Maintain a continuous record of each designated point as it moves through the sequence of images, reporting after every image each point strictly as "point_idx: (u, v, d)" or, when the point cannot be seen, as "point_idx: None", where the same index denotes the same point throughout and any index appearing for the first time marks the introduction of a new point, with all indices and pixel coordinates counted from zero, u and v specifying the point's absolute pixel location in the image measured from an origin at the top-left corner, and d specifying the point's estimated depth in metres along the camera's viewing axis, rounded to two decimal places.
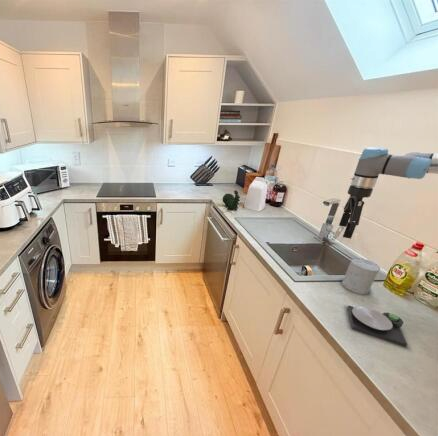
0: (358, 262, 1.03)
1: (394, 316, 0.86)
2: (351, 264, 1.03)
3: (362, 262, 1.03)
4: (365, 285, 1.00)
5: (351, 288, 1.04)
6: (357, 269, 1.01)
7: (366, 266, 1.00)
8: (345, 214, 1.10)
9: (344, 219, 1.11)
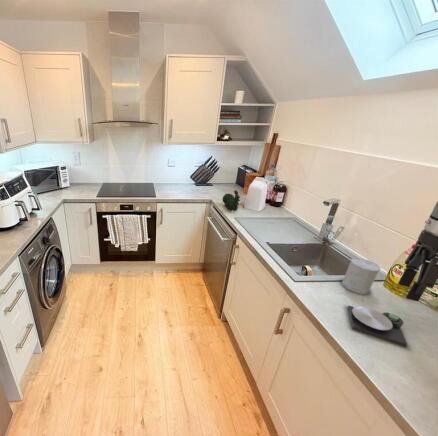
0: (358, 262, 1.03)
1: (394, 316, 0.86)
2: (351, 264, 1.03)
3: (362, 262, 1.03)
4: (365, 285, 1.00)
5: (351, 288, 1.04)
6: (357, 269, 1.01)
7: (366, 266, 1.00)
8: (409, 271, 0.82)
9: (407, 277, 0.83)
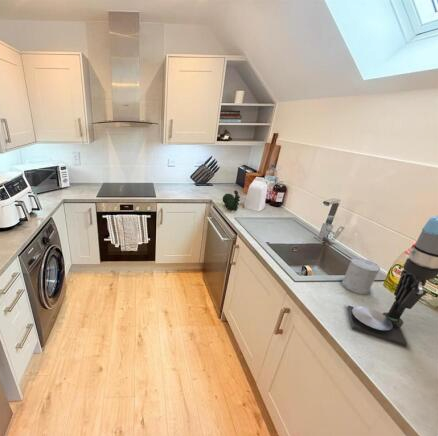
0: (358, 262, 1.03)
1: None
2: (351, 264, 1.03)
3: (362, 262, 1.03)
4: (365, 285, 1.00)
5: (351, 288, 1.04)
6: (357, 269, 1.01)
7: (366, 266, 1.00)
8: None
9: None
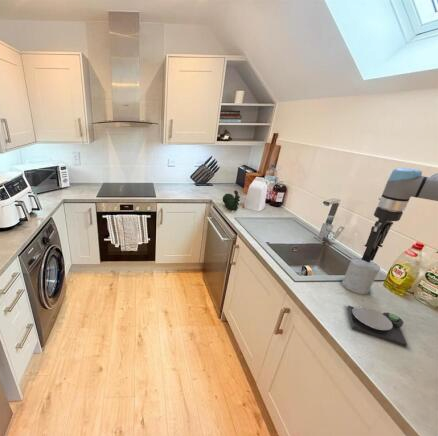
0: (358, 262, 1.03)
1: (394, 316, 0.86)
2: (351, 264, 1.03)
3: (362, 262, 1.03)
4: (365, 285, 1.00)
5: (351, 288, 1.04)
6: (357, 269, 1.01)
7: (366, 266, 1.00)
8: None
9: None
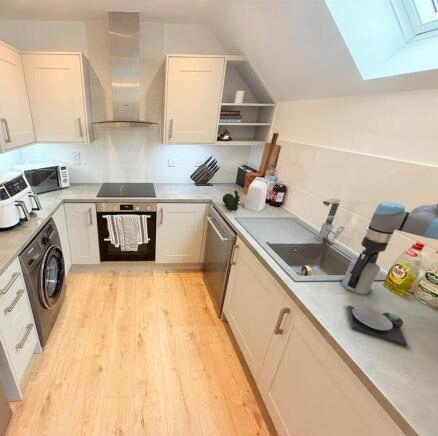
0: None
1: (394, 316, 0.86)
2: (351, 264, 1.03)
3: None
4: (365, 285, 1.00)
5: (351, 288, 1.04)
6: None
7: (366, 266, 1.00)
8: None
9: None
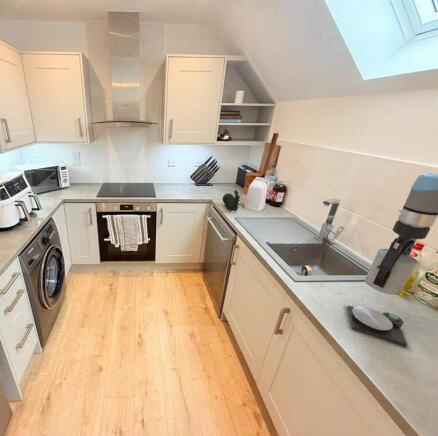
0: None
1: (394, 316, 0.86)
2: (378, 256, 0.81)
3: None
4: (397, 283, 0.78)
5: (378, 287, 0.81)
6: None
7: (398, 259, 0.78)
8: None
9: None
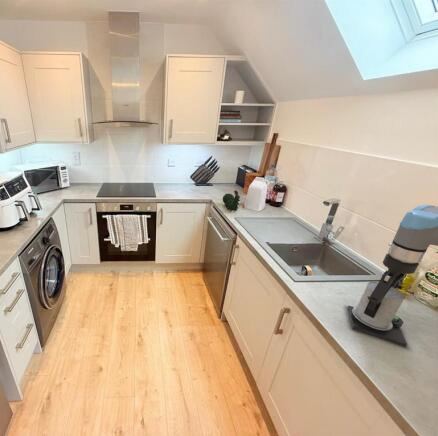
0: None
1: (394, 316, 0.86)
2: (367, 290, 0.83)
3: None
4: (386, 317, 0.80)
5: (367, 320, 0.83)
6: None
7: (387, 294, 0.80)
8: None
9: None
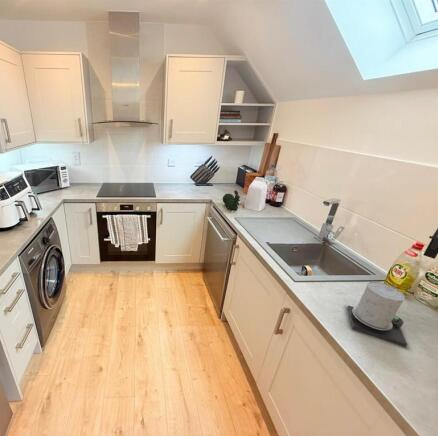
0: (376, 288, 0.82)
1: (394, 316, 0.86)
2: (367, 290, 0.83)
3: (381, 288, 0.82)
4: (386, 317, 0.80)
5: (367, 320, 0.83)
6: (375, 298, 0.80)
7: (387, 294, 0.80)
8: None
9: None
